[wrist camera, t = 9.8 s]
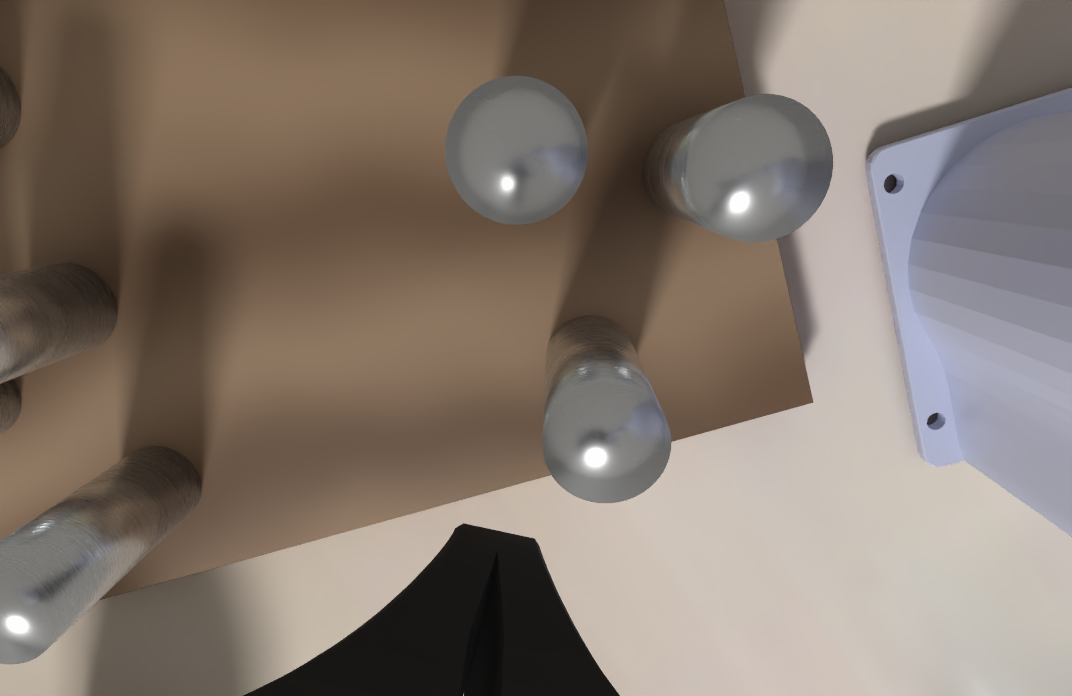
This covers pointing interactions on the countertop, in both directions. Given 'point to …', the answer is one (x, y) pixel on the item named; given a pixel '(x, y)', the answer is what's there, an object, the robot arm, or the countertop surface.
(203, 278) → the board
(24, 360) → the spacers
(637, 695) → the countertop surface
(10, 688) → the countertop surface
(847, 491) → the countertop surface
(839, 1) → the countertop surface
